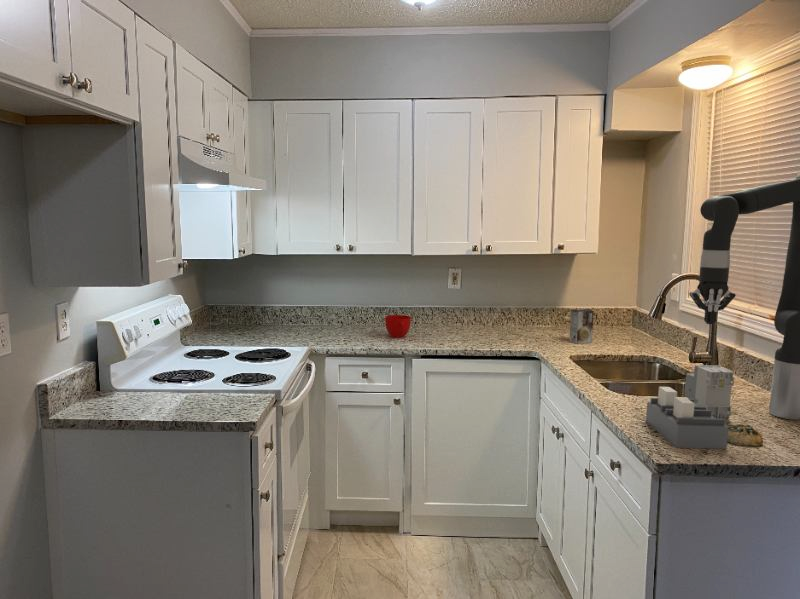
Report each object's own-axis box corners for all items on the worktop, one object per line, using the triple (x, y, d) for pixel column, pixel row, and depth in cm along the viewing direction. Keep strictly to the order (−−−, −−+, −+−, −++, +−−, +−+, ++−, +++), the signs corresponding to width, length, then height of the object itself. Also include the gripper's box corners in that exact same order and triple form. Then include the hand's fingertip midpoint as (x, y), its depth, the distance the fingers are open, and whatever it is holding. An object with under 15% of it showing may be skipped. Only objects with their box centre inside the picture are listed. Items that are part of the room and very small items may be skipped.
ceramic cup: (389, 341, 275) (390, 320, 274) (382, 334, 292) (382, 315, 290) (415, 340, 278) (416, 320, 277) (407, 333, 295) (407, 314, 293)
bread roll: (742, 430, 162) (745, 414, 160) (772, 451, 151) (775, 434, 150) (706, 433, 160) (709, 417, 159) (734, 454, 150) (737, 437, 148)
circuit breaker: (703, 405, 184) (707, 360, 182) (730, 421, 170) (734, 372, 168) (680, 405, 184) (684, 360, 182) (705, 420, 170) (710, 372, 168)
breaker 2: (684, 415, 155) (685, 397, 155) (692, 421, 150) (694, 403, 150) (673, 414, 155) (674, 397, 155) (681, 421, 150) (682, 402, 150)
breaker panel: (690, 422, 168) (692, 397, 167) (726, 448, 148) (729, 421, 147) (645, 421, 169) (647, 396, 168) (675, 447, 149) (678, 419, 148)
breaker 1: (668, 403, 165) (669, 386, 164) (675, 409, 160) (677, 392, 160) (657, 403, 165) (658, 386, 165) (664, 408, 160) (666, 391, 160)
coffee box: (584, 340, 286) (586, 308, 283) (592, 342, 280) (594, 310, 277) (568, 341, 283) (570, 309, 281) (576, 343, 277) (578, 311, 274)
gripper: (730, 265, 170) (725, 322, 173) (685, 264, 171) (681, 321, 173) (744, 266, 163) (739, 326, 165) (698, 266, 163) (693, 325, 165)
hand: (709, 323), depth 169 cm, fingers closed
